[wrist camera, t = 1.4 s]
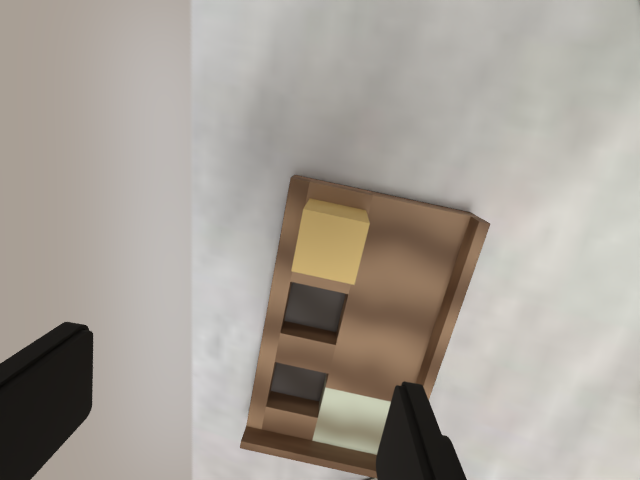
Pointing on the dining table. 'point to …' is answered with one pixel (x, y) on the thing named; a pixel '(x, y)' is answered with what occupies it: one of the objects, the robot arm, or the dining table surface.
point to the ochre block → (330, 241)
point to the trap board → (357, 327)
